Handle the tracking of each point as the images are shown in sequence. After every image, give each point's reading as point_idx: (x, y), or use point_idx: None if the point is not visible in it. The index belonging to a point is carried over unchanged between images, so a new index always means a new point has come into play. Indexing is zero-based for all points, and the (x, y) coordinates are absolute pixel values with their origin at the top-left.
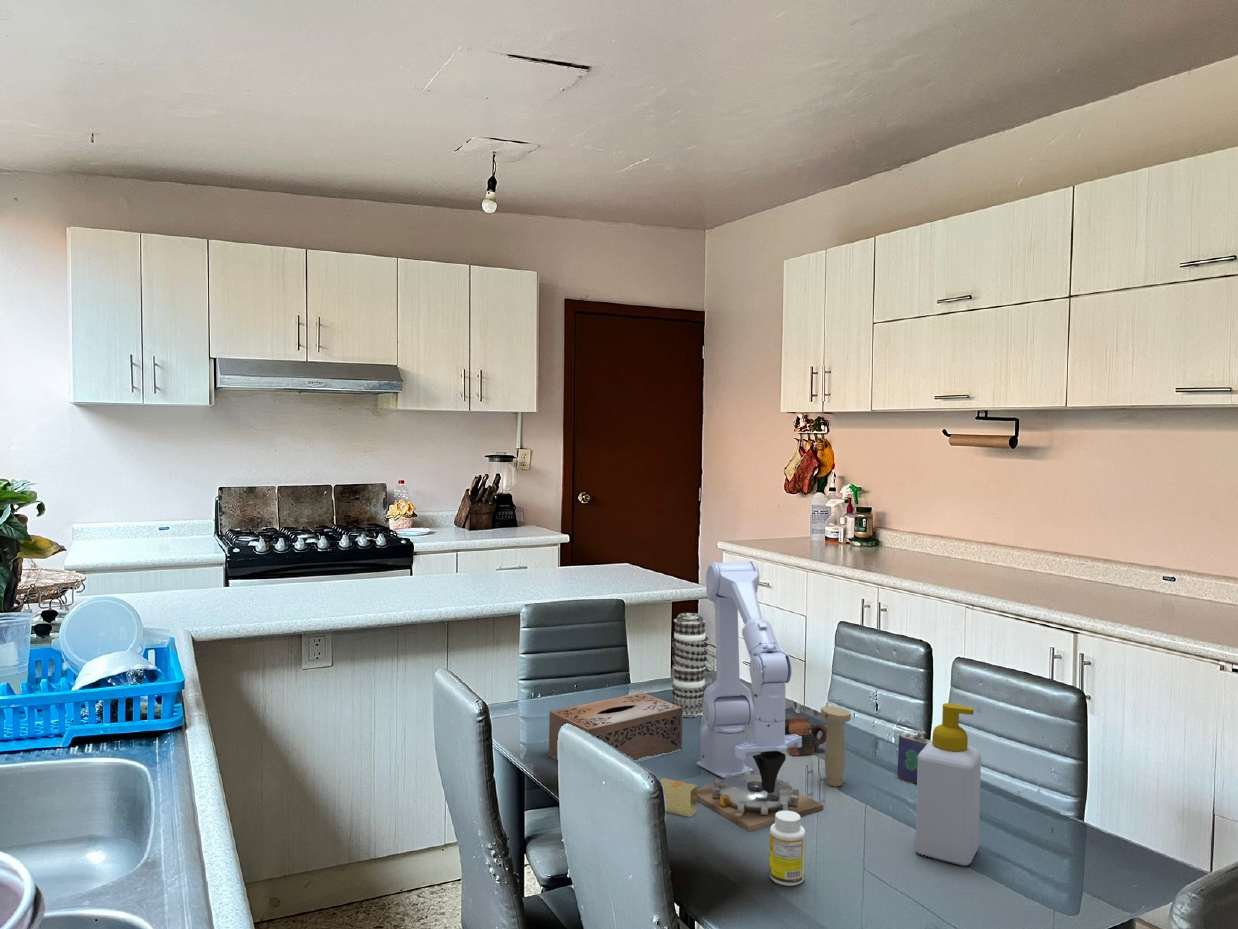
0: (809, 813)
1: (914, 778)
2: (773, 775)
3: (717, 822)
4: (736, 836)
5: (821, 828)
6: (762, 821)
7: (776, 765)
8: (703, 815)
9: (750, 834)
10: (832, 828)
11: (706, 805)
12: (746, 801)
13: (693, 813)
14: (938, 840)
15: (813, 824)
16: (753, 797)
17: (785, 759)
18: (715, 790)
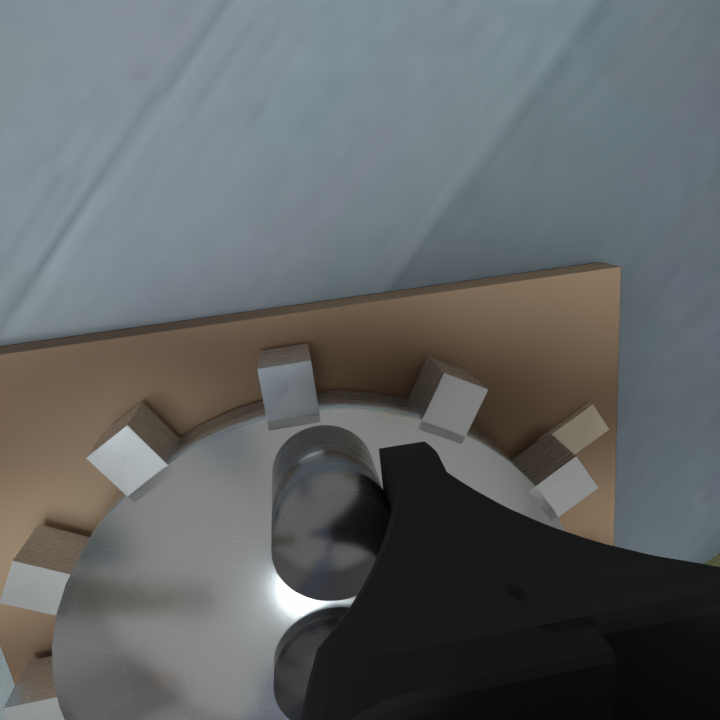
0: (67, 337)
1: None
2: (465, 510)
3: (672, 438)
4: (704, 240)
5: (111, 95)
6: (508, 292)
7: (497, 578)
8: (677, 534)
9: (618, 229)
10: (21, 54)
11: None
12: (528, 495)
13: (712, 563)
14: None
15: (134, 182)
16: None
17: (327, 651)
18: None
